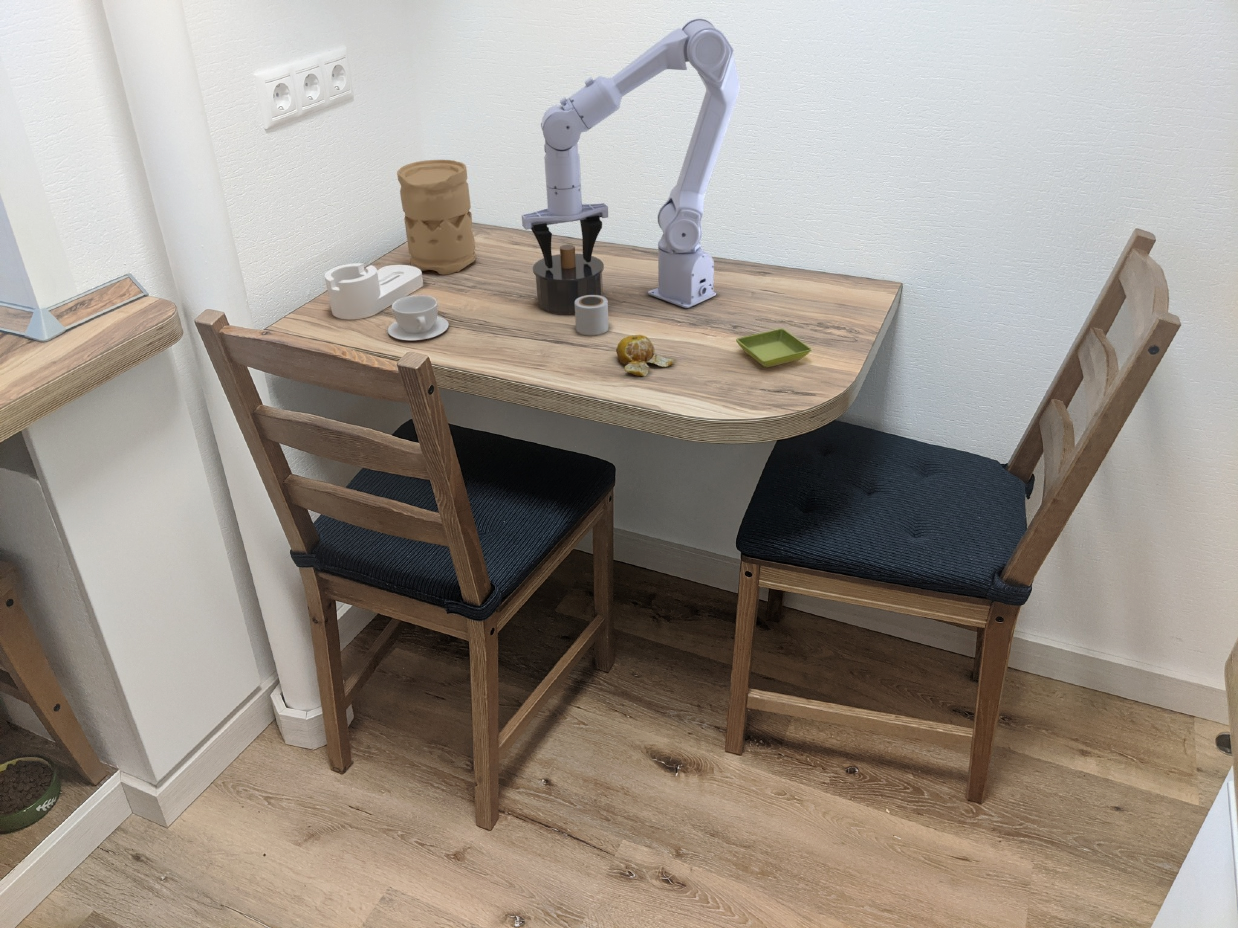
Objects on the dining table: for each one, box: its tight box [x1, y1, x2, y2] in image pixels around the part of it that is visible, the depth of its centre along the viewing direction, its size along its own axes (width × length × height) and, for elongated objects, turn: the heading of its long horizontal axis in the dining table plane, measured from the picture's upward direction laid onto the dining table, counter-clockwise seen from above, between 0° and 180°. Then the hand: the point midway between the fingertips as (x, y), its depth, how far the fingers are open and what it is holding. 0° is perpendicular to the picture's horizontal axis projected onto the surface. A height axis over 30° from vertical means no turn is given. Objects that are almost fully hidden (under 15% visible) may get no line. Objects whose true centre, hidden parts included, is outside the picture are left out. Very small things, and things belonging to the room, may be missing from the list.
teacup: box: [387, 294, 449, 341], centre depth 158 cm, size 10×10×5 cm
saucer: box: [735, 328, 812, 369], centre depth 147 cm, size 9×9×2 cm
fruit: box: [615, 334, 675, 377], centre depth 146 cm, size 8×8×4 cm
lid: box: [532, 244, 605, 283], centre depth 164 cm, size 12×12×4 cm
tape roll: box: [574, 295, 610, 336], centre depth 157 cm, size 5×5×5 cm
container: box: [396, 159, 477, 275], centre depth 180 cm, size 13×13×18 cm
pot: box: [534, 272, 604, 316], centre depth 166 cm, size 11×11×6 cm
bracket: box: [324, 262, 424, 321], centre depth 170 cm, size 20×9×7 cm, turn 153°
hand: (568, 263), depth 164 cm, fingers open, 6 cm apart
